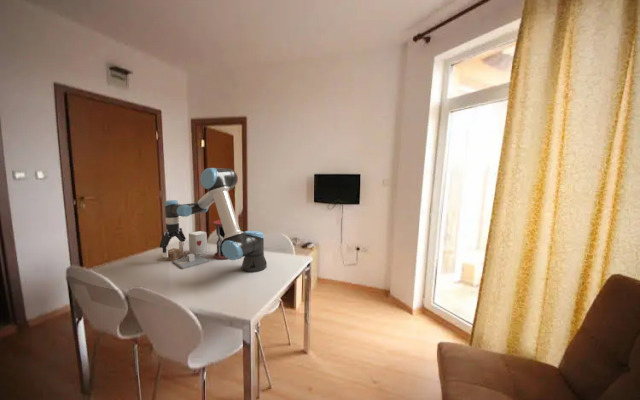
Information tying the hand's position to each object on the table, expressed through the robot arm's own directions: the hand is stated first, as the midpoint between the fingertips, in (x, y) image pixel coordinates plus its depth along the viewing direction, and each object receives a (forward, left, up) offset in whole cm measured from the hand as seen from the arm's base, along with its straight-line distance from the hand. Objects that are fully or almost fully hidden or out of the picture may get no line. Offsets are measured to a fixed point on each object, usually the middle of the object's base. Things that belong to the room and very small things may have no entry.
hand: (173, 253), depth 165 cm
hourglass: (-27, +20, -4) cm, 34 cm away
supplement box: (-17, -1, -4) cm, 17 cm away
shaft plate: (-5, +15, -4) cm, 16 cm away
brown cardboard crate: (0, 0, -4) cm, 4 cm away
